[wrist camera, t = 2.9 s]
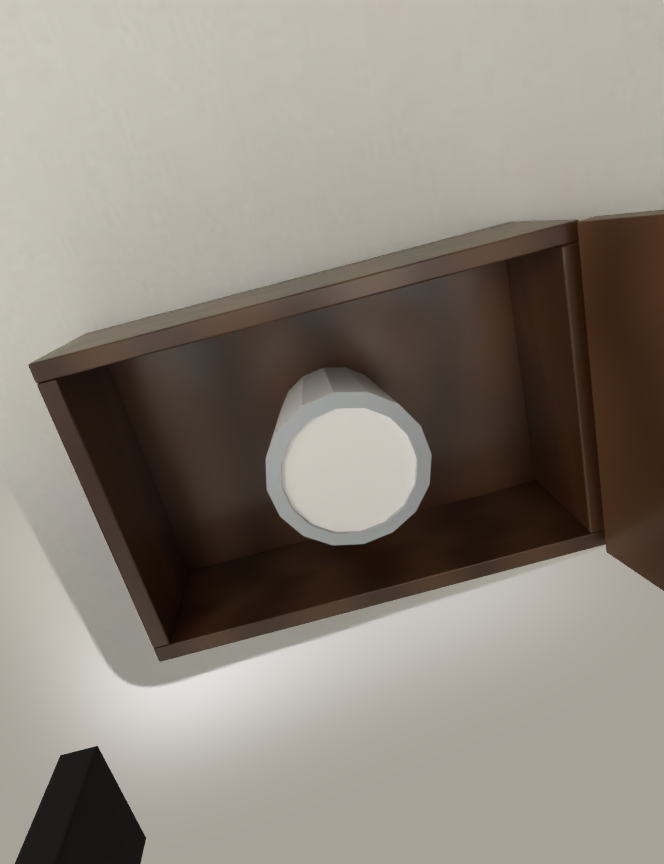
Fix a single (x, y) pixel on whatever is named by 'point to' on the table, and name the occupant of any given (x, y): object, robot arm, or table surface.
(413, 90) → the table surface
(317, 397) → the white grey-rimmed cylinder
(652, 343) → the chest lid
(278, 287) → the chest
